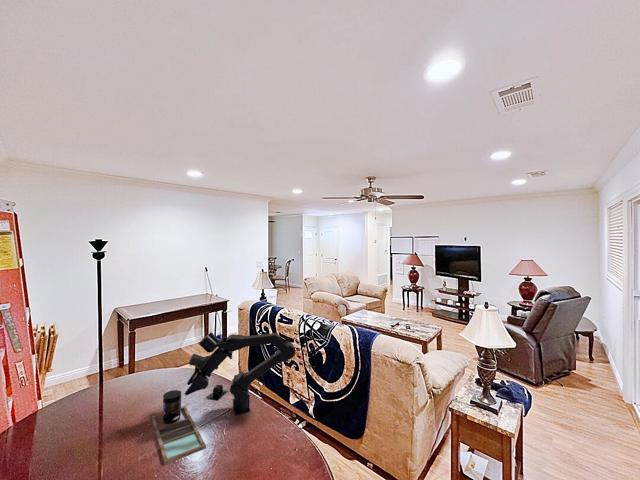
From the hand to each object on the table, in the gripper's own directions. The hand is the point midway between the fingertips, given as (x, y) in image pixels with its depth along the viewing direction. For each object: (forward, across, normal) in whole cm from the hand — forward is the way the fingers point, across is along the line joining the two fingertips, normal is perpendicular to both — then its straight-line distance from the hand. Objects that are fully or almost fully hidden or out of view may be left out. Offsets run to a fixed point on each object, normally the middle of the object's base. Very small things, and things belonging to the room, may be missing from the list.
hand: (186, 389), depth 118 cm
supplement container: (+12, 0, +5) cm, 13 cm away
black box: (0, -15, +18) cm, 23 cm away
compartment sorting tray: (+10, +10, +7) cm, 15 cm away
